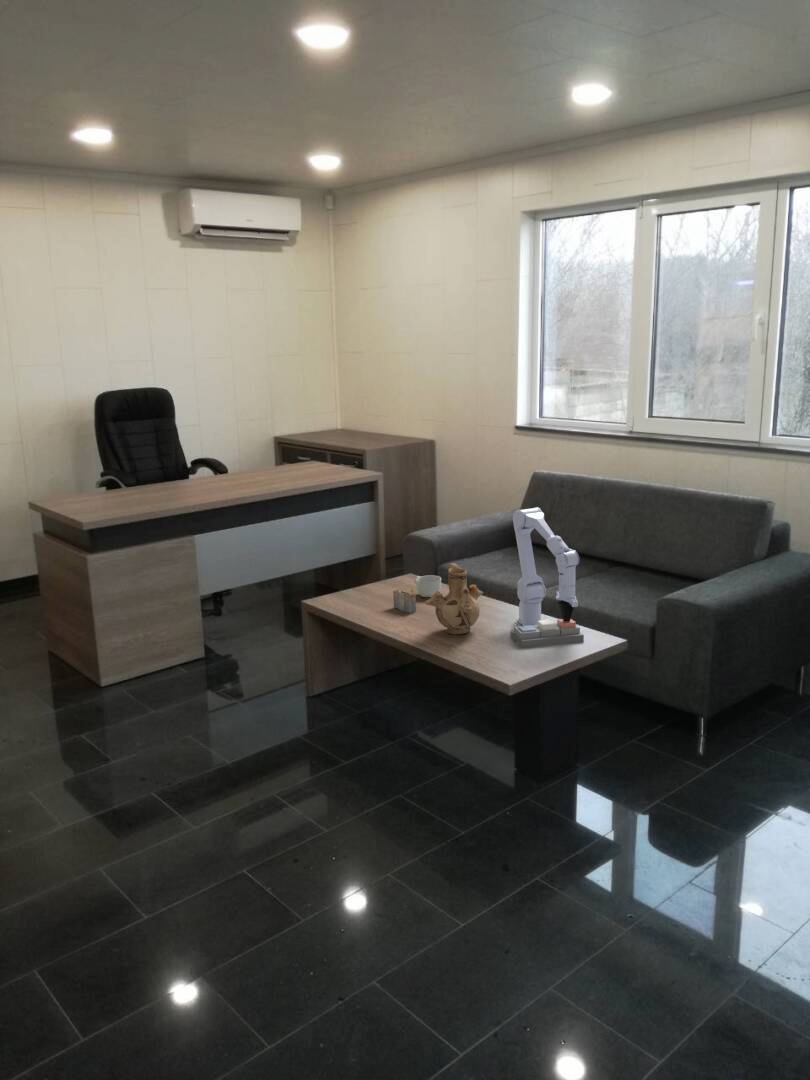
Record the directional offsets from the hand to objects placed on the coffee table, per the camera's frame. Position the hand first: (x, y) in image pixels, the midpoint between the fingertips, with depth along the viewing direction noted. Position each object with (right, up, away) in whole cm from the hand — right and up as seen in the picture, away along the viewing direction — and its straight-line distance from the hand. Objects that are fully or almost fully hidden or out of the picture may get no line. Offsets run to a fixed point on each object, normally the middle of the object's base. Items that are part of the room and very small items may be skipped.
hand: (566, 621), depth 307 cm
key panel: (-7, -7, 0) cm, 10 cm away
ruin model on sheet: (-58, 0, +40) cm, 70 cm away
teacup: (-49, +5, +60) cm, 77 cm away
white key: (-7, -3, -1) cm, 8 cm away
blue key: (-15, -5, -2) cm, 15 cm away
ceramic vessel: (-39, -5, +10) cm, 40 cm away
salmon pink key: (0, -2, +1) cm, 2 cm away
